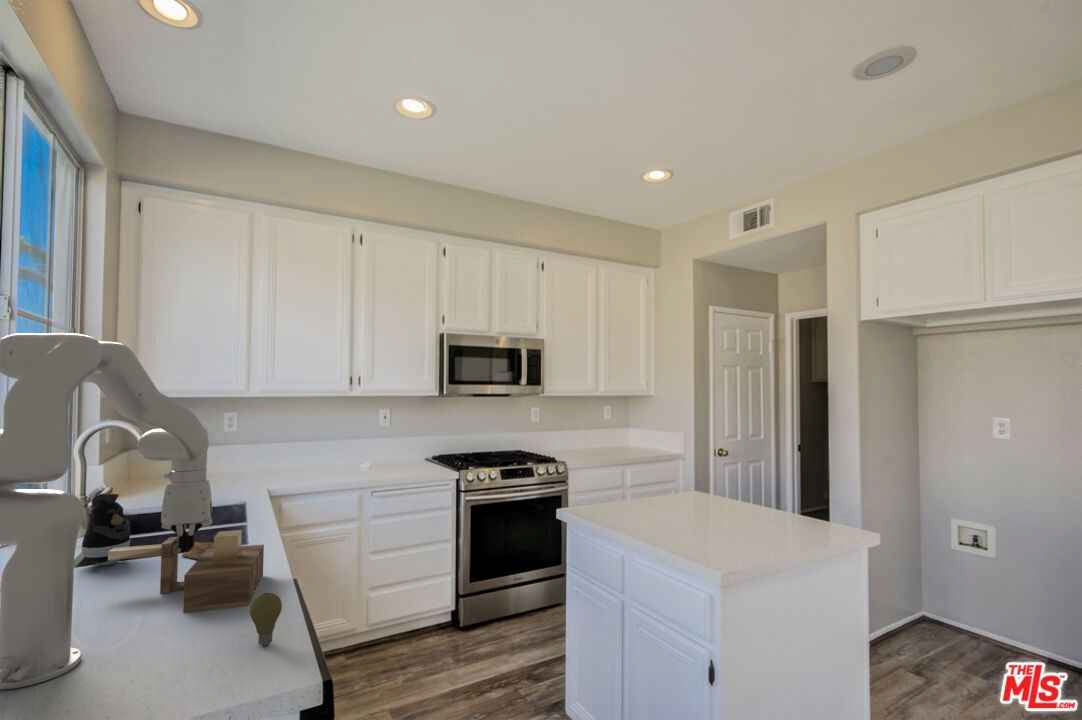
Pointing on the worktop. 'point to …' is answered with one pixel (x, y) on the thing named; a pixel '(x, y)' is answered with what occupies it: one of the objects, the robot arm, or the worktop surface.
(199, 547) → the wooden fragment
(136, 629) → the worktop surface
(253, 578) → the wooden box
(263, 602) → the light bulb
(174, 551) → the wooden key
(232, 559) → the lid
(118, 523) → the black rounded piece
